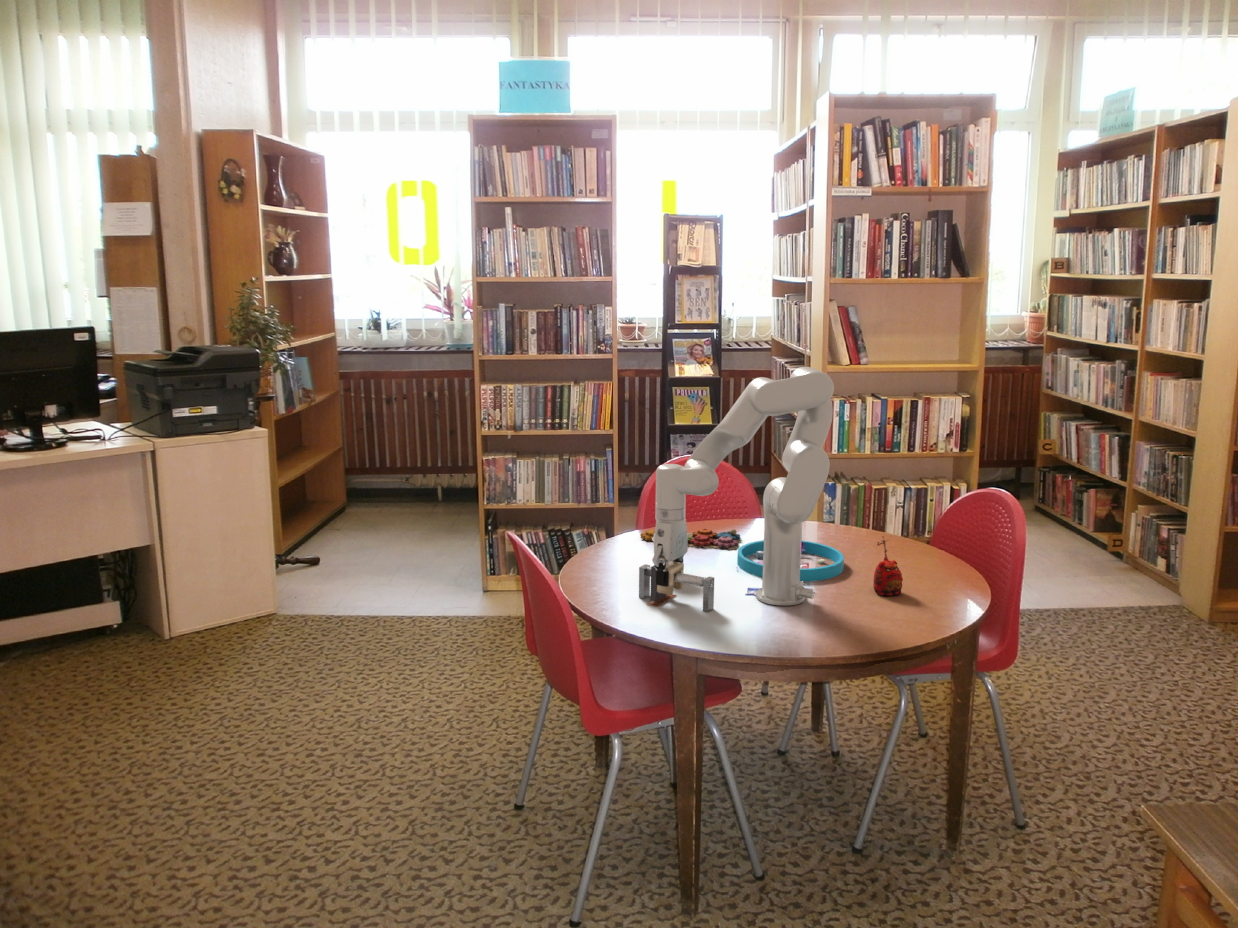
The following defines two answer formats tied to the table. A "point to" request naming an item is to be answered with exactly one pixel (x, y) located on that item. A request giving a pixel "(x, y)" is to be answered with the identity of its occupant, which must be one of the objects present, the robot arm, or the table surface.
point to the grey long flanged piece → (682, 578)
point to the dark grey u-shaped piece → (655, 585)
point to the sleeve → (672, 568)
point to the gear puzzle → (706, 539)
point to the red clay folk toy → (887, 576)
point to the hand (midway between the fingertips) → (669, 581)
